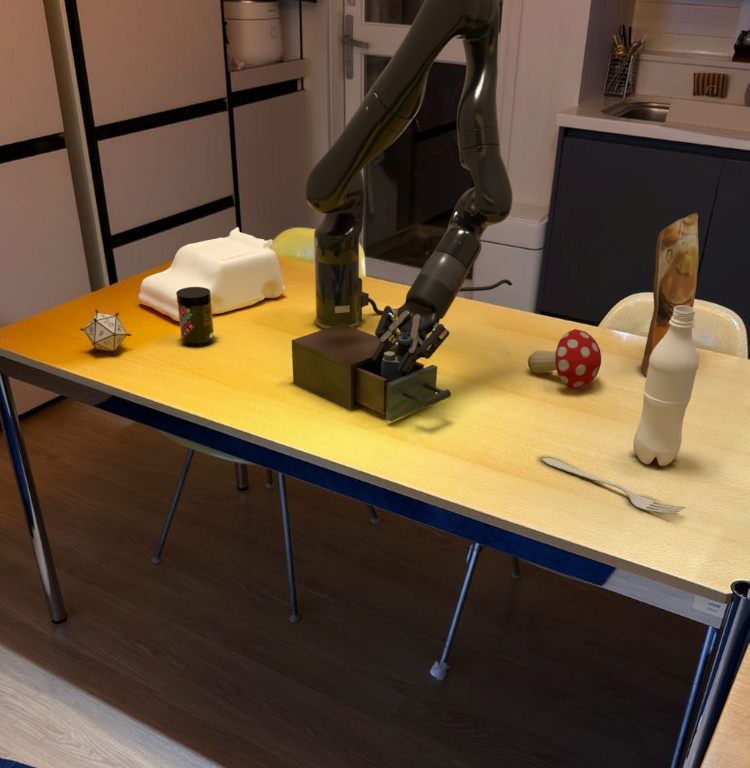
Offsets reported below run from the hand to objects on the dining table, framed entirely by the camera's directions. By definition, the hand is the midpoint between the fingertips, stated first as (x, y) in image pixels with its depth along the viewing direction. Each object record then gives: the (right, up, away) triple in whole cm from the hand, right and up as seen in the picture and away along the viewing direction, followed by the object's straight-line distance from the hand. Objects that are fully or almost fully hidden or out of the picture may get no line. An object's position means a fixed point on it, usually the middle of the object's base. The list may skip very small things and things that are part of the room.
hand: (387, 368), depth 151 cm
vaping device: (+1, -5, +4) cm, 6 cm away
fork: (+33, -21, -17) cm, 43 cm away
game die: (-56, +7, +26) cm, 62 cm away
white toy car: (-39, +23, +51) cm, 68 cm away
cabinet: (-7, -1, +13) cm, 15 cm away
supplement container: (-39, +10, +30) cm, 50 cm away
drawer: (+1, -5, +5) cm, 7 cm away
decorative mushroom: (+34, 0, +17) cm, 37 cm away
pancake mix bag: (+55, +5, +24) cm, 60 cm away
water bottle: (+43, -16, -9) cm, 46 cm away
